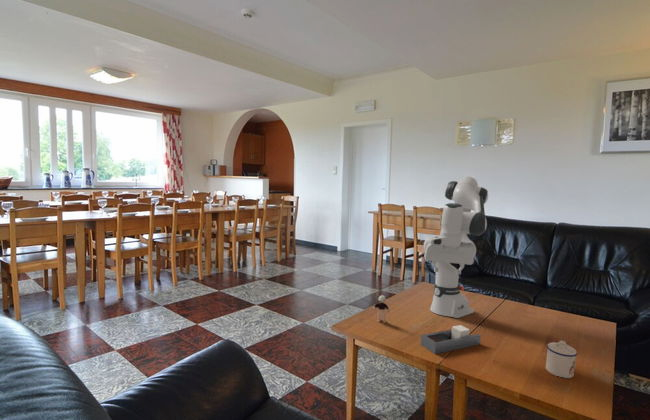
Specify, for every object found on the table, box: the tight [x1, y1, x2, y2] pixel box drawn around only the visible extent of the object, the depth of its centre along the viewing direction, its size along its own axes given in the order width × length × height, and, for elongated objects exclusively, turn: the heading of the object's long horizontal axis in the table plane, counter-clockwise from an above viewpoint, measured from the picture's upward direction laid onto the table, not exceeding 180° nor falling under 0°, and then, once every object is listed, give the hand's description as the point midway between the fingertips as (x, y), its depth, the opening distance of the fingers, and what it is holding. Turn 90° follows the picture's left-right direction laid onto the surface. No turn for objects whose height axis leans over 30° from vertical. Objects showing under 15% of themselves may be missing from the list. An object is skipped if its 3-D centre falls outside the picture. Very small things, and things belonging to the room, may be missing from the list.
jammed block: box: [451, 324, 471, 339], centre depth 152 cm, size 5×5×5 cm
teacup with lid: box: [545, 340, 578, 379], centre depth 132 cm, size 12×9×12 cm
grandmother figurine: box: [372, 294, 390, 324], centre depth 171 cm, size 8×4×13 cm, turn 84°
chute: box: [420, 326, 482, 355], centre depth 150 cm, size 24×9×4 cm, turn 114°
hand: (447, 272), depth 156 cm, fingers open, 8 cm apart
